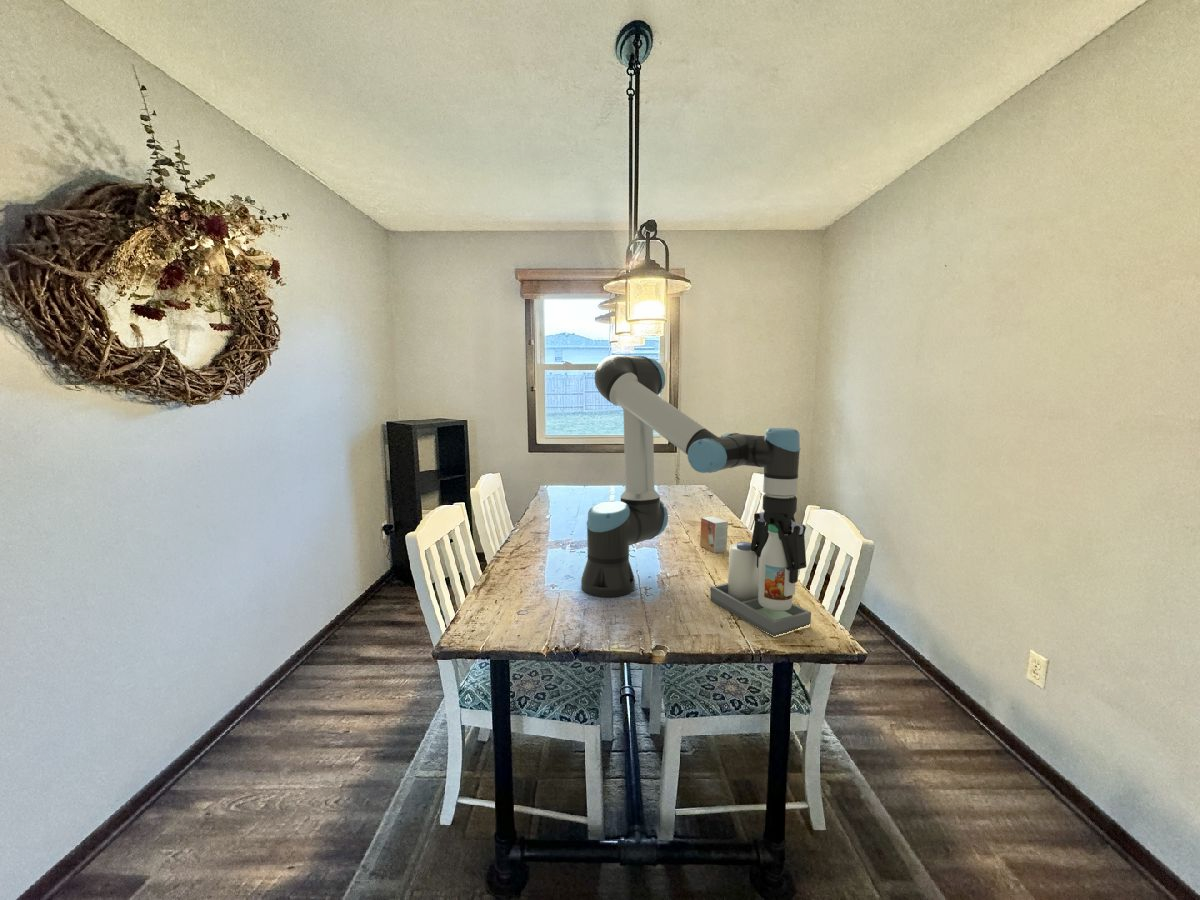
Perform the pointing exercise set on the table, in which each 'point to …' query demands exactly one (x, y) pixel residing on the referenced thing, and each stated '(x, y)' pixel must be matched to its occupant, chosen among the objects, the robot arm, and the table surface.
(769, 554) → the milk bottle
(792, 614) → the tray
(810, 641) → the table surface
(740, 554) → the twin bottle
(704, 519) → the small box
